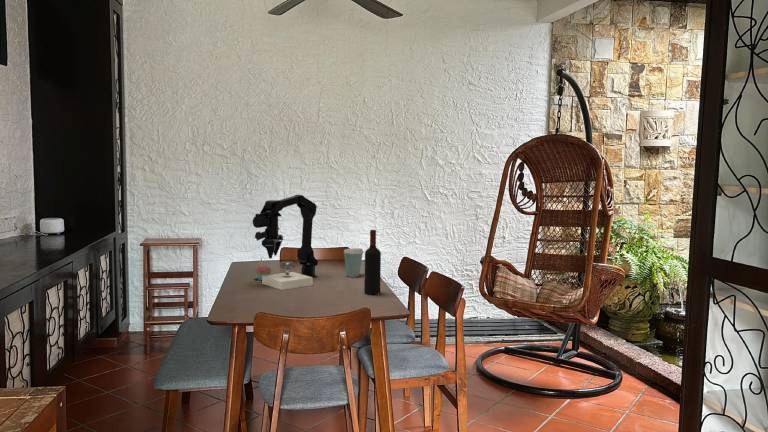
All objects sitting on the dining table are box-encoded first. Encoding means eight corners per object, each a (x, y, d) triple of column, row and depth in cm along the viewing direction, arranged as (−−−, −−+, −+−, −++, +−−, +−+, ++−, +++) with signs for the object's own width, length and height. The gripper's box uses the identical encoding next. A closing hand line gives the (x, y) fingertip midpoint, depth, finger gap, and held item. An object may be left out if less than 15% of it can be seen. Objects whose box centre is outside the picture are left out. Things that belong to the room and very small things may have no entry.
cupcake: (267, 281, 321) (267, 258, 320) (251, 280, 322) (251, 257, 321) (273, 278, 329) (273, 255, 328) (258, 277, 331) (258, 254, 330)
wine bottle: (368, 295, 291) (369, 231, 288) (361, 292, 298) (362, 229, 295) (383, 294, 295) (384, 230, 292) (375, 291, 301) (376, 228, 298)
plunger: (289, 272, 318) (289, 261, 317) (297, 274, 313) (297, 263, 312) (277, 274, 313) (277, 262, 313) (285, 276, 308) (285, 264, 307)
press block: (292, 279, 326) (292, 271, 326) (312, 285, 313) (312, 277, 312) (262, 283, 314) (262, 275, 314) (281, 290, 301) (281, 281, 300)
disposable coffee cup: (339, 276, 335) (340, 249, 334) (348, 273, 345) (348, 246, 343) (358, 278, 331) (358, 250, 330) (366, 275, 341) (366, 247, 340)
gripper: (261, 223, 322) (262, 253, 324) (250, 228, 304) (251, 260, 305) (283, 223, 321) (283, 253, 323) (273, 228, 303) (274, 260, 304)
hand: (272, 256), depth 314 cm, fingers open, 9 cm apart
